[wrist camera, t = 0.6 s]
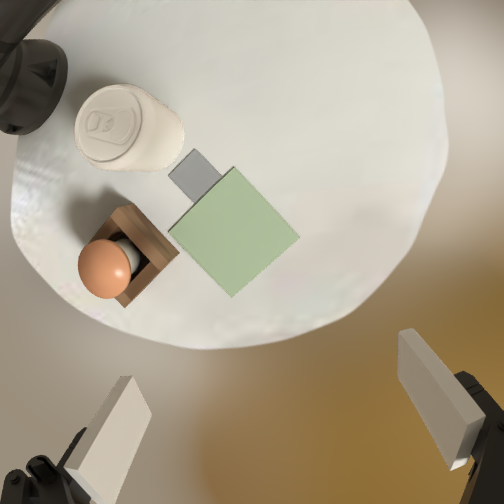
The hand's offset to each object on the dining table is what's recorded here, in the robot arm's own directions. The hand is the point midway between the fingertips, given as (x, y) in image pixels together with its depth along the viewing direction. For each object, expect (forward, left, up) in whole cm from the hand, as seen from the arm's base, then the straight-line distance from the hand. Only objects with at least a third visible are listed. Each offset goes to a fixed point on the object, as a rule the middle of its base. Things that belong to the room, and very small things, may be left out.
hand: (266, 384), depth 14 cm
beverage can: (-20, 0, -24) cm, 31 cm away
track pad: (-13, +1, -24) cm, 27 cm away
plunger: (-12, -11, -21) cm, 27 cm away
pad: (-5, -1, -24) cm, 24 cm away
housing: (-12, -11, -24) cm, 29 cm away
